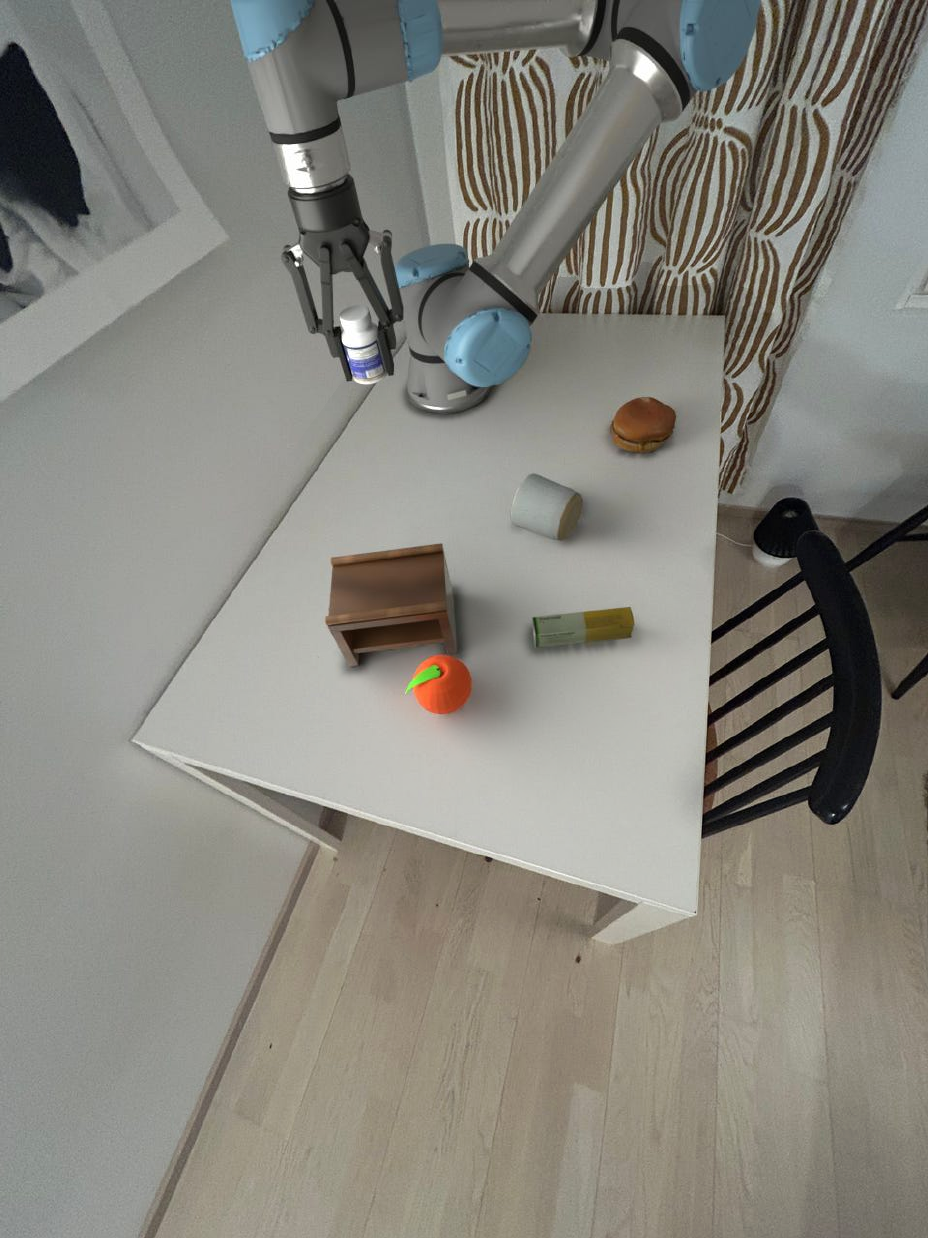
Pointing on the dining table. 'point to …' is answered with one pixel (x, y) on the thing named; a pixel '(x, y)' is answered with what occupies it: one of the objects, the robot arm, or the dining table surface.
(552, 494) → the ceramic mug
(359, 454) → the dining table surface
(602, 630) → the medication box
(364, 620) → the stand
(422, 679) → the clementine
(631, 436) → the burger
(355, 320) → the pill bottle
